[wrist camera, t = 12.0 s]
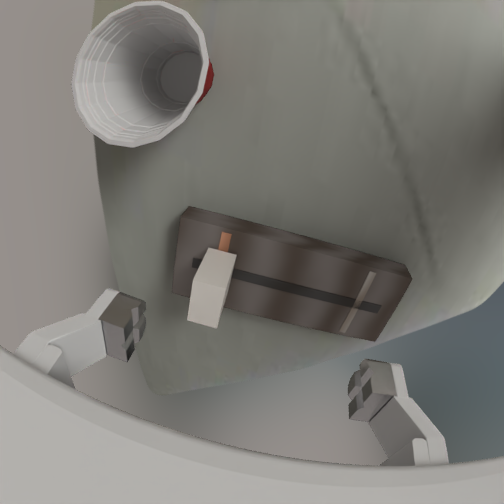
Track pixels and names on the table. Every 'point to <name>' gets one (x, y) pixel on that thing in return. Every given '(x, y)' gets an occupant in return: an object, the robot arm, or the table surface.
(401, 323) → the table surface
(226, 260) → the fader tab
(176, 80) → the plastic cup
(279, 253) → the slider console
